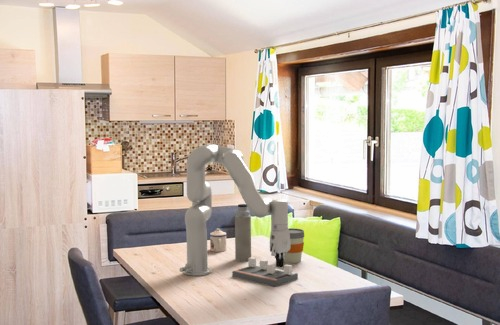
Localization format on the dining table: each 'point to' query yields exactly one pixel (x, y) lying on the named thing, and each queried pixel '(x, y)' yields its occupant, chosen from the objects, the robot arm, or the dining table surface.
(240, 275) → the grey slider switch panel
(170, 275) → the dining table surface
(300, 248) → the reusable coffee cup
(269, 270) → the block
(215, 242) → the teacup with lid
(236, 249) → the thermos bottle
